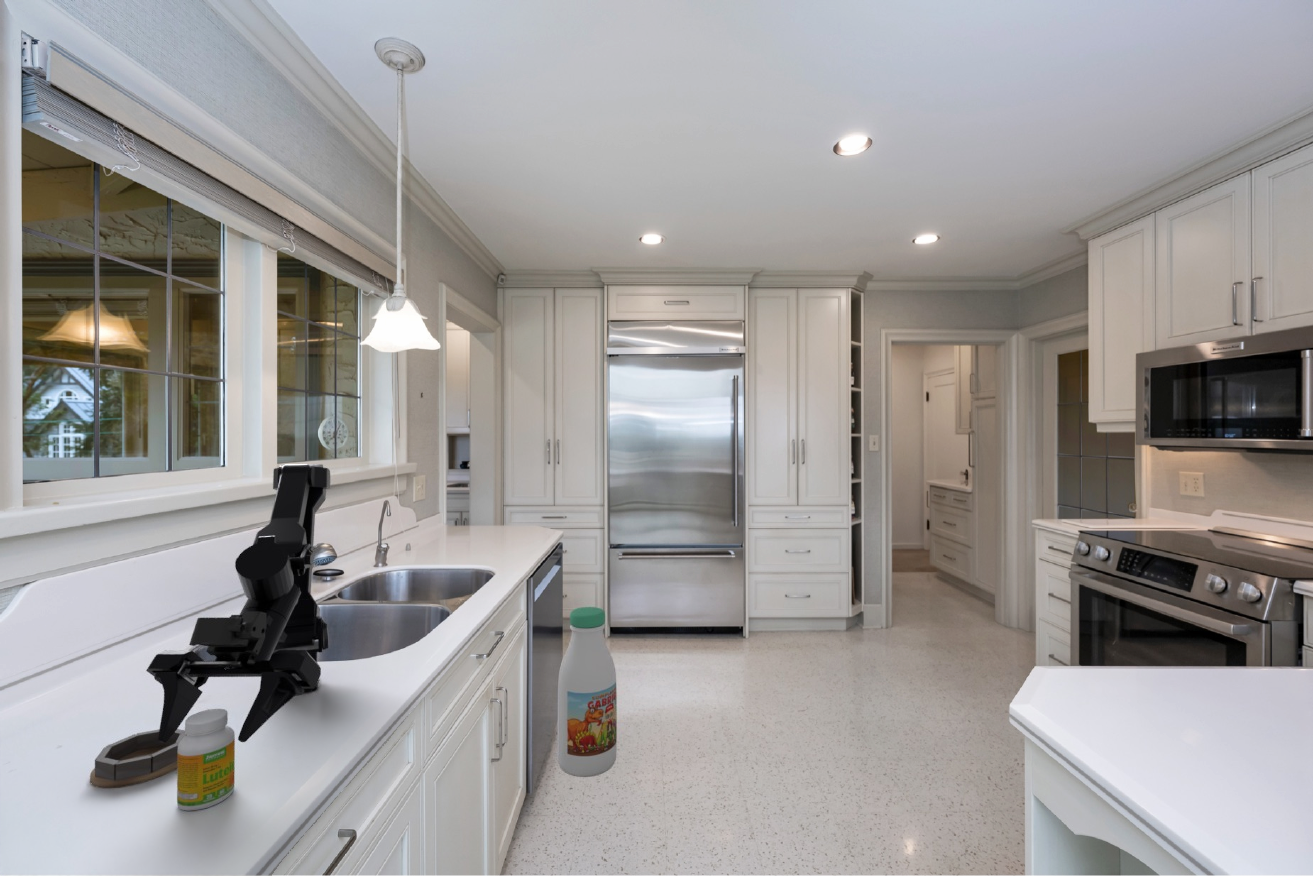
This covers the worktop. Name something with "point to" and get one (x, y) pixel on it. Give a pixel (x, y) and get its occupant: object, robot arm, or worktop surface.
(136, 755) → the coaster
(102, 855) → the worktop surface
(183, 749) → the supplement bottle
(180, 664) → the robot arm
